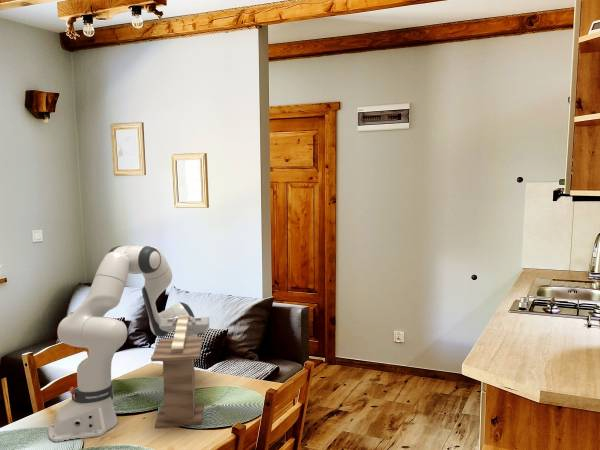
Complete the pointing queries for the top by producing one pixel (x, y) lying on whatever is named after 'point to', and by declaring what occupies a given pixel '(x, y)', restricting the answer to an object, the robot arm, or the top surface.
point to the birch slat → (180, 334)
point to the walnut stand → (179, 384)
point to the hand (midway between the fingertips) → (183, 318)
